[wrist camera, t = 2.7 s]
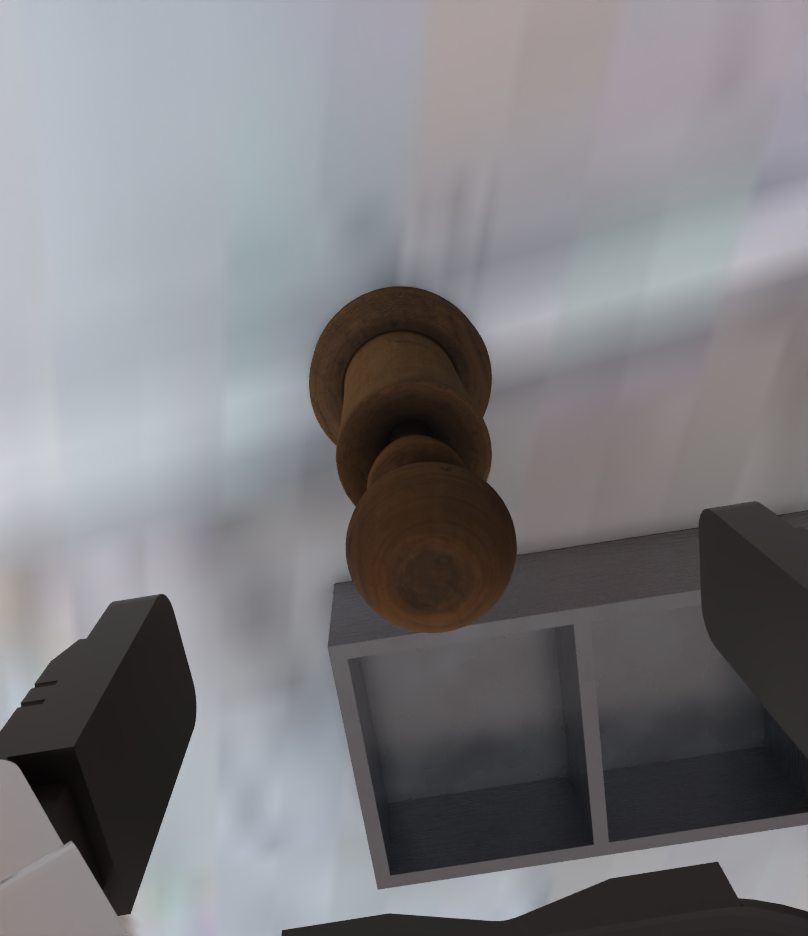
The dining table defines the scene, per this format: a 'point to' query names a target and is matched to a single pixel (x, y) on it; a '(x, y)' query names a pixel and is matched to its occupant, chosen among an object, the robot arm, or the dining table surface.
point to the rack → (558, 720)
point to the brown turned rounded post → (414, 457)
